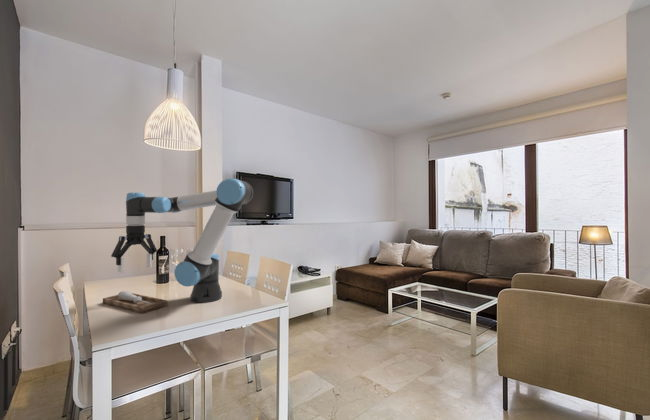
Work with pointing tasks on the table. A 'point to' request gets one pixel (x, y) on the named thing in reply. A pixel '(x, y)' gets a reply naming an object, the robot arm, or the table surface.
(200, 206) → the robot arm
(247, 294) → the table surface
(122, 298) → the screwdriver
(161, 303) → the tool tray
